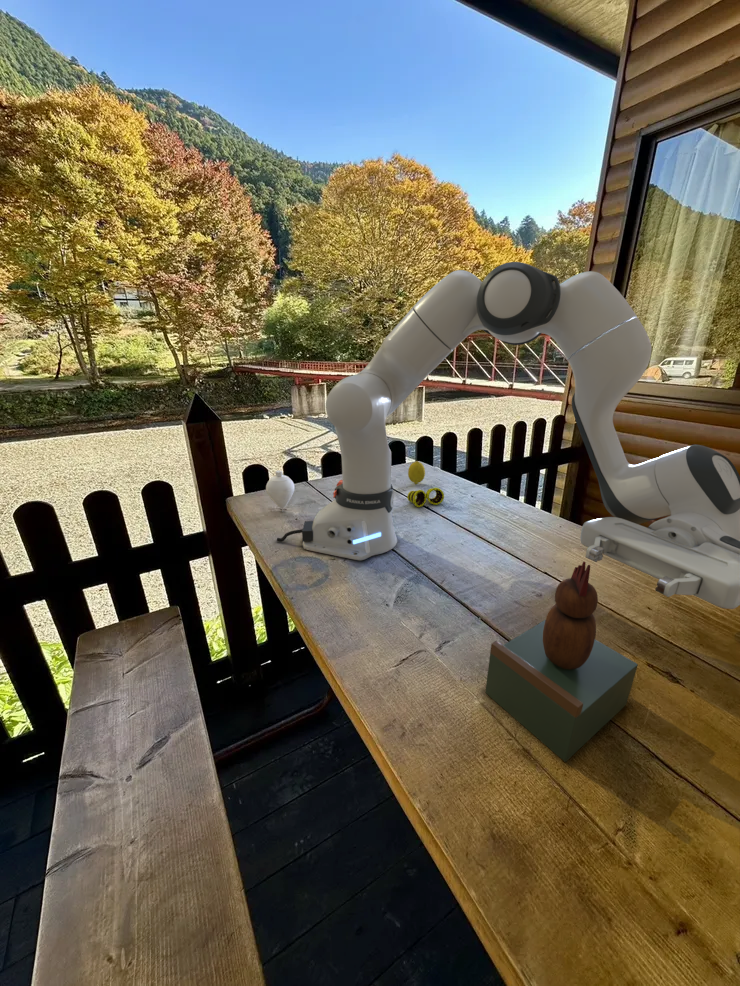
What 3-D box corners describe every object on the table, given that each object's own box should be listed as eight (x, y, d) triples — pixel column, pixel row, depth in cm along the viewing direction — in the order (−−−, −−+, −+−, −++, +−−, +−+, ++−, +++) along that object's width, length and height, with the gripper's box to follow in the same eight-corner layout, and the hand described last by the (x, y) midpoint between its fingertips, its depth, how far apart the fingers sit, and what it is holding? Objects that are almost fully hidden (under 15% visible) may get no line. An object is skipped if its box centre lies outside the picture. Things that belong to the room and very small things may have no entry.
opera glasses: (436, 501, 123) (436, 485, 123) (444, 504, 118) (444, 487, 118) (406, 505, 121) (406, 488, 120) (414, 508, 116) (413, 491, 115)
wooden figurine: (585, 685, 49) (610, 577, 44) (534, 666, 52) (552, 563, 46) (591, 650, 54) (614, 551, 49) (545, 634, 57) (562, 539, 52)
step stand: (484, 692, 57) (491, 643, 54) (546, 651, 64) (554, 605, 61) (565, 762, 47) (578, 707, 44) (626, 705, 55) (641, 654, 51)
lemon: (423, 487, 132) (424, 464, 129) (406, 486, 133) (407, 463, 130) (425, 481, 137) (426, 459, 134) (408, 481, 138) (409, 458, 135)
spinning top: (276, 519, 110) (272, 477, 106) (264, 510, 116) (259, 470, 111) (301, 512, 115) (298, 471, 110) (288, 504, 120) (284, 465, 116)
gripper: (615, 502, 67) (559, 519, 61) (777, 556, 50) (722, 589, 44) (607, 536, 69) (552, 557, 63) (760, 599, 53) (705, 636, 46)
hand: (623, 570), depth 54 cm, fingers open, 8 cm apart
